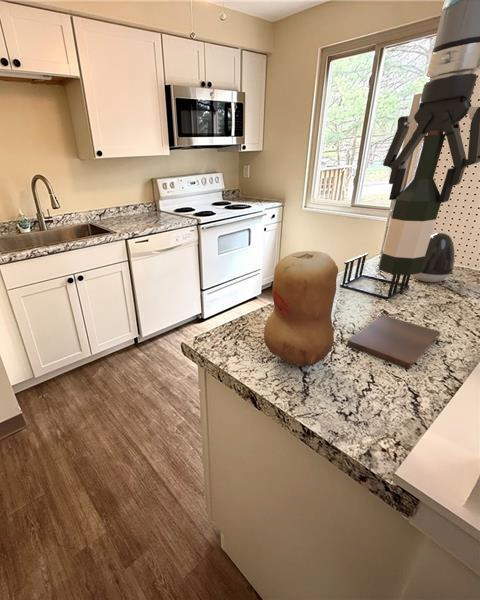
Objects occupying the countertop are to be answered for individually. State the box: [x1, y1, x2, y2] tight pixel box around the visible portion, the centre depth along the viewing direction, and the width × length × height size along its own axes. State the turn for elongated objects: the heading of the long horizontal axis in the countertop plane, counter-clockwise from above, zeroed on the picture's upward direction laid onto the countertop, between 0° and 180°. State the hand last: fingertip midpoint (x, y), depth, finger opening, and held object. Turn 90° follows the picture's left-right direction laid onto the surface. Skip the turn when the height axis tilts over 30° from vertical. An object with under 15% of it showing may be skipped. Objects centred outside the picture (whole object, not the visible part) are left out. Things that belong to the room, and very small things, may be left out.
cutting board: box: [346, 314, 442, 370], centre depth 72 cm, size 18×12×2 cm, turn 125°
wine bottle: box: [378, 130, 446, 276], centre depth 69 cm, size 8×8×30 cm
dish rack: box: [339, 252, 412, 300], centre depth 98 cm, size 14×14×8 cm
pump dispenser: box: [412, 232, 456, 283], centre depth 97 cm, size 10×10×15 cm
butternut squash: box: [263, 250, 339, 367], centre depth 65 cm, size 14×13×25 cm
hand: (417, 200), depth 68 cm, fingers closed on wine bottle, 8 cm apart
